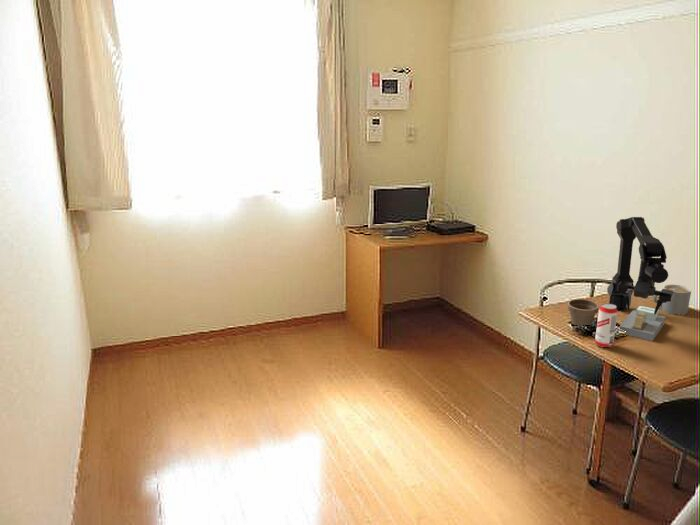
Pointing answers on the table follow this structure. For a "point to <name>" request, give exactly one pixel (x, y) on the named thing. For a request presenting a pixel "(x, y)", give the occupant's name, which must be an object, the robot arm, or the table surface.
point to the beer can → (606, 325)
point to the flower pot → (582, 311)
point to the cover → (648, 312)
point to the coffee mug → (676, 300)
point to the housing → (646, 331)
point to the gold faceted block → (640, 320)
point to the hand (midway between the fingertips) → (641, 311)
